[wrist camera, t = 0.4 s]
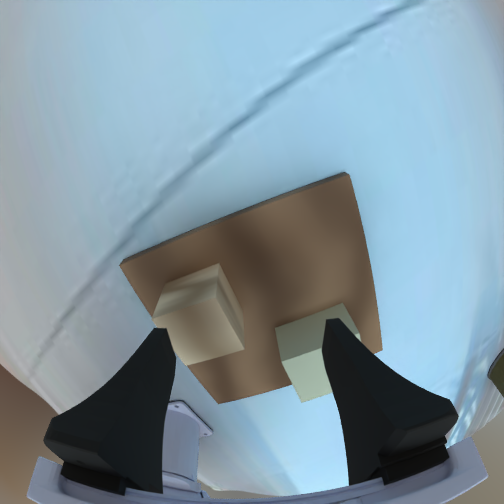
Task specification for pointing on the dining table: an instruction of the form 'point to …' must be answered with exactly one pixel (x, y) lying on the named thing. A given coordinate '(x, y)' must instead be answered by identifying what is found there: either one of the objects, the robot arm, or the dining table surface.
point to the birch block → (201, 316)
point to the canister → (498, 372)
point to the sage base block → (309, 351)
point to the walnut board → (272, 277)
